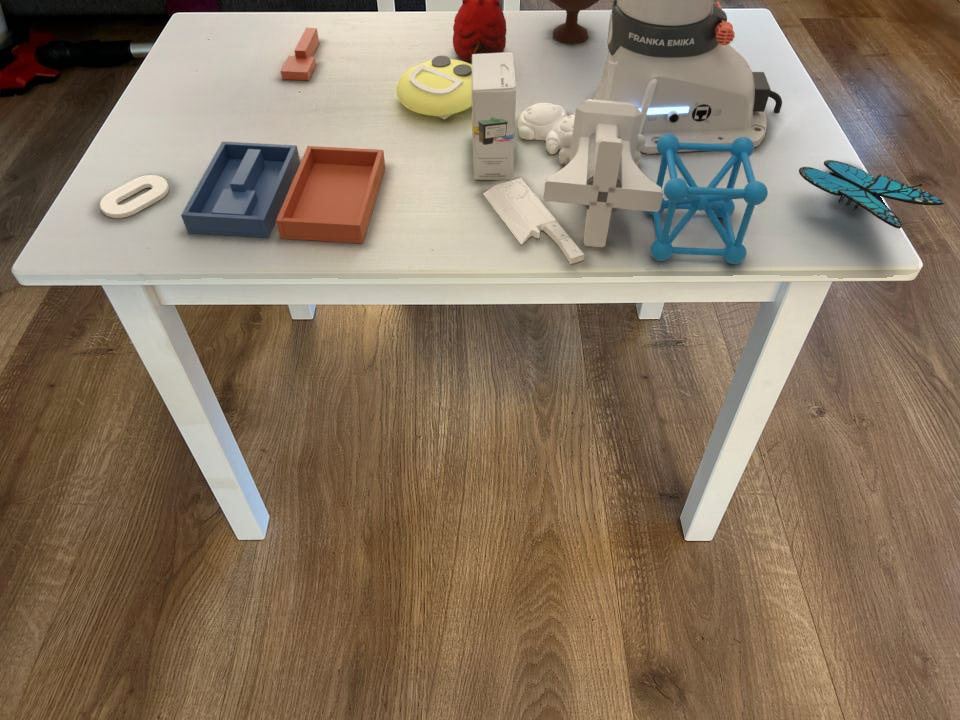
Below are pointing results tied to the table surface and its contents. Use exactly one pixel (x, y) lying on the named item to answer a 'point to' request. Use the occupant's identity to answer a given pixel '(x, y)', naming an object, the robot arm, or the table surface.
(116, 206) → the chain link
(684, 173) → the molecular structure
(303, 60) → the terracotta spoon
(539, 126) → the astronaut figurine
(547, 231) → the cleaver
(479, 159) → the ink box
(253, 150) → the paddle
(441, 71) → the emoji
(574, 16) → the ice cream bowl
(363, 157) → the terracotta tray
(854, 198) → the butterfly
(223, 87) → the table surface
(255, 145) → the blue tray
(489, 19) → the red clay folk toy
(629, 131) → the toy gun turret
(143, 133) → the table surface
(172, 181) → the table surface
